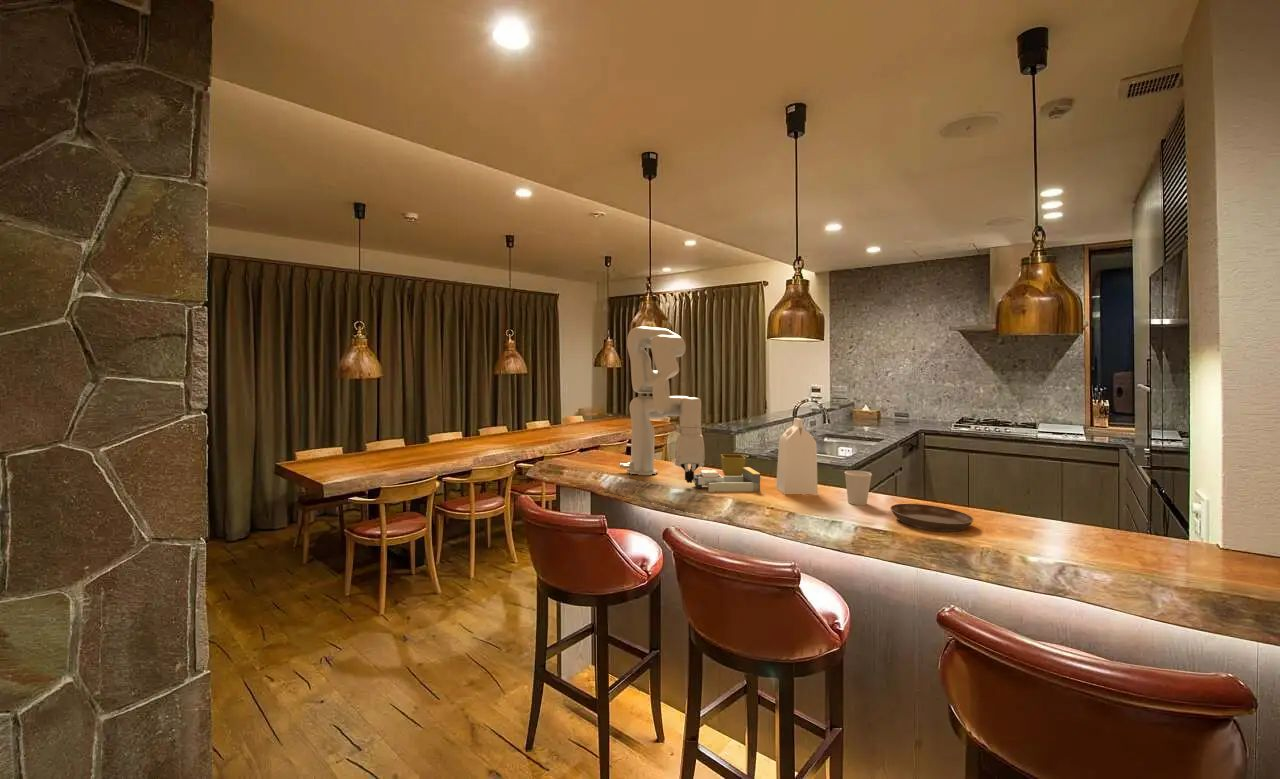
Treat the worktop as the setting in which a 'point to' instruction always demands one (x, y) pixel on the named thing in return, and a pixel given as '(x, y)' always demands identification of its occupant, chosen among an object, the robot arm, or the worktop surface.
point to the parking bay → (738, 482)
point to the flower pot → (732, 464)
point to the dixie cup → (857, 486)
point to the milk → (797, 461)
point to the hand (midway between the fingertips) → (689, 481)
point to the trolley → (707, 478)
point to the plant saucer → (931, 517)
